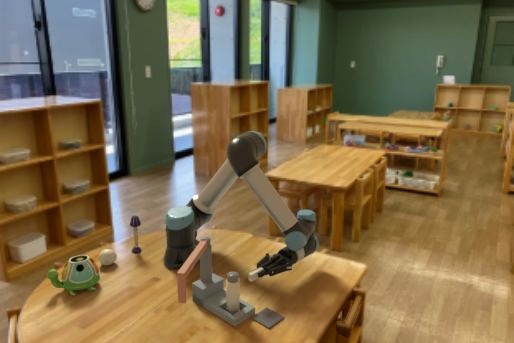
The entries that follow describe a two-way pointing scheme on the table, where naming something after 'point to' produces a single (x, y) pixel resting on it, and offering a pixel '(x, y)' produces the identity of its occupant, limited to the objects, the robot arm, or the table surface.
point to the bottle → (232, 292)
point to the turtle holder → (76, 274)
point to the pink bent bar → (190, 267)
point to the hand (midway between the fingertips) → (250, 277)
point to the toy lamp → (135, 233)
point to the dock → (216, 293)
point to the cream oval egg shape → (107, 257)
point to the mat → (267, 317)
